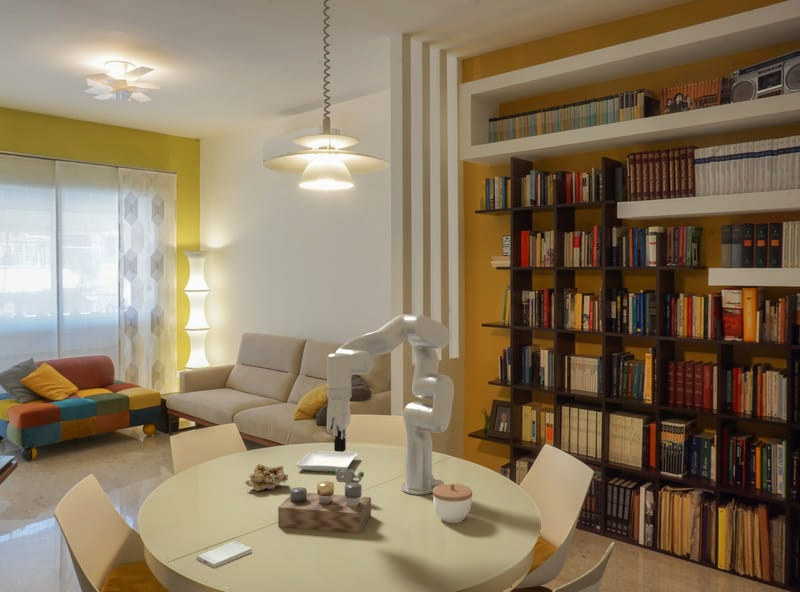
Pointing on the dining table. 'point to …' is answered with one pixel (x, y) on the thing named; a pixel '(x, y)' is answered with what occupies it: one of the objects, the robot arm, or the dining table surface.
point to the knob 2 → (353, 494)
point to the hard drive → (224, 554)
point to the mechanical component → (347, 476)
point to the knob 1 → (298, 494)
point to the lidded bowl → (452, 502)
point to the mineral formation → (266, 477)
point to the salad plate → (326, 460)
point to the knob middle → (325, 492)
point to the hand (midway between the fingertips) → (340, 450)
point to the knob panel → (325, 514)
